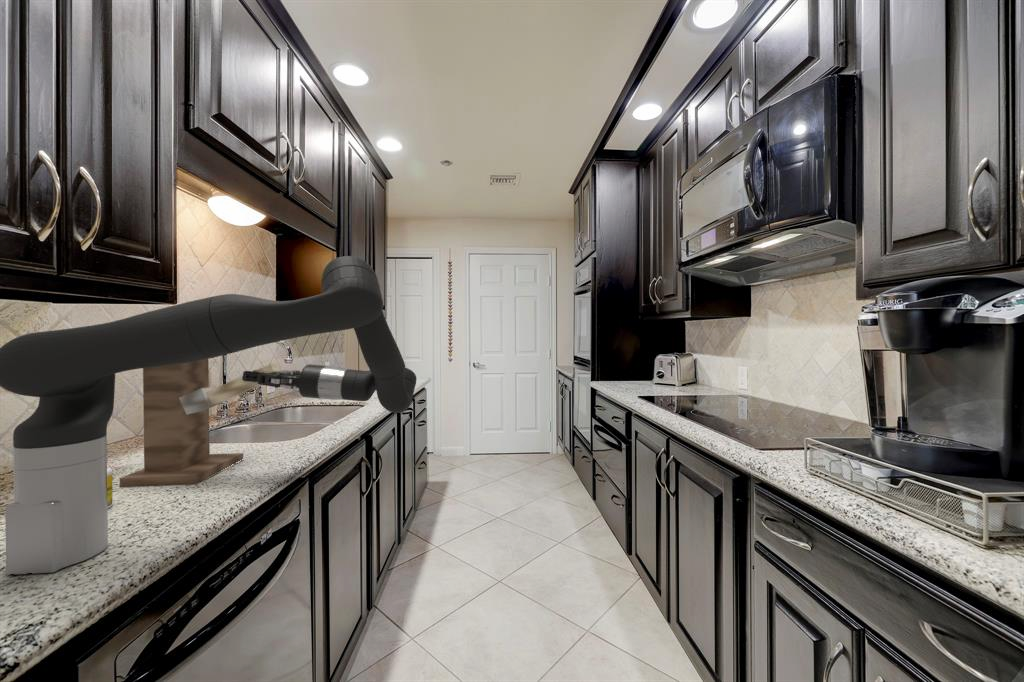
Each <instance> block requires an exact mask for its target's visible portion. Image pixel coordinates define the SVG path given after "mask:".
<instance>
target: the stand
mask: <svg viewBox="0 0 1024 682" xmlns="http://www.w3.org/2000/svg"><path fill="white" fill-rule="evenodd" d="M209 373H210V372H209V359H205V360H200V361H194V362H188V363H181V364H174V365H167V366H158V367H149V368H142V384H143V385H142V390H143V392H142V397H143V398H142V399H143V400H142V401H143V403H142V404H143V405H142V406H143V463H144V465H143V466H144V467H143V468H142V469H140V470H137V471H135V472H132V473H130V474H127V475H124V476H121V477H119V488H129V487H130V488H132V487H133V488H134V487H157V486H182V485H187V486H188V485H198V484H200V483H202V482H204V481H205V479H206V478H208V477H210V476H212V475H213V474H215V473H217V472H219V471H221V470H223V469H225V468H227V467H229V466H231V465H232V464H235V463H236V462H238V461H240V460H242V459H243V460H244V453H243V452H241V453H240V452H237V453H233V452H232V453H212V454H211V453H210V408H209V409H206V410H204V411H201V412H197V413H192V414H188V415H186V412H185V410H184V408H183V406H182V404H181V401H180V399H179V398H180V397H182V396H185V395H187V394H189V393H192V392H194V391H196V390H199V389H201V388H208V387H210V385H209V383H210V382H209V381H210V377H209V376H210V374H209ZM235 465H236V464H235ZM212 477H213V476H212ZM210 478H211V477H210ZM208 479H209V478H208ZM203 480H204V481H203ZM206 480H207V479H206ZM201 481H202V482H201ZM199 482H200V483H199ZM197 483H198V484H197Z"/></svg>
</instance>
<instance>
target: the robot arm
mask: <svg viewBox="0 0 1024 682" xmlns="http://www.w3.org/2000/svg"><path fill="white" fill-rule="evenodd" d="M383 309H384V301H383V296H382V292H381V287H380V283H379V279H378V276H377V274H376V272H375V270H374V269H373V267H372V266H371V265H370V264H369V263H368V262H366V260H365V259H364V260H363V258H360V257H358V256H352V255H344V256H338V257H336V258H334V259H332V260H331V261H329V262H328V263H327V264H326V265H325V267H324V269H323V272H322V275H321V293H320V294H319V293H318V294H316V295H313V296H307V297H303V298H299V299H293V300H282V301H281V300H271V299H268V298H267V299H266V298H261V297H256V296H251V295H246V294H245V295H244V294H237V293H236V294H235V293H234V294H233V293H227V294H219V295H218V294H217V295H215V296H213V295H212V296H210V297H209V296H208V297H204V298H199V299H195V300H191V301H186V302H182V303H178V304H175V305H170V306H166V307H161V308H158V309H155V310H150V311H147V312H143V313H138V314H136V315H132V316H129V317H125V318H122V319H117V320H115V321H109V322H105V323H104V322H103V323H99V324H93V325H92V324H91V325H84V326H78V327H72V328H71V327H70V328H64V329H56V330H55V329H54V330H47V331H38V332H29V333H26V334H23V335H20V336H17V337H15V338H13V339H11V340H9V341H8V342H6V343H4V344H3V345H1V347H0V387H1V388H2V389H4V390H5V391H7V392H10V393H12V394H15V395H19V396H23V397H25V396H26V397H33V398H39V401H38V406H37V407H36V409H35V410H34V412H33V413H32V414H31V415H30V416H29V417H28V418H26V419H25V420H23V421H22V422H21V423H19V424H18V425H17V426H16V427H15V428H14V430H13V435H12V436H13V437H12V438H13V439H12V442H13V443H12V446H13V447H12V448H13V454H12V455H13V456H12V457H13V502H12V503H9V504H7V505H6V506H5V508H4V509H5V512H4V513H5V517H4V518H5V573H6V574H14V575H28V574H27V573H32V574H46V573H49V574H50V573H56V572H57V571H59V570H61V569H63V568H66V567H69V566H70V567H71V566H72V565H75V564H78V563H81V562H83V561H86V560H88V559H90V558H93V557H94V556H96V555H99V554H100V553H102V552H103V551H104V550H106V549H107V547H108V545H109V518H108V517H109V516H108V510H109V509H107V467H108V463H107V457H108V456H107V455H108V454H107V453H108V449H107V448H108V445H107V441H108V439H107V434H108V433H107V429H108V424H109V422H110V420H111V417H112V416H113V413H114V407H115V405H114V404H115V392H116V391H115V389H116V388H115V387H116V386H115V385H116V374H118V373H122V372H123V373H124V372H127V371H131V370H139V369H143V368H149V367H158V366H167V365H174V364H181V363H188V362H194V361H200V360H205V359H208V360H209V359H214V358H217V357H222V356H225V355H230V354H233V353H238V352H242V351H245V350H248V349H252V348H255V347H259V346H264V345H268V344H273V343H277V342H282V341H286V340H287V341H288V340H292V339H297V338H301V337H302V338H303V337H308V336H312V335H314V336H315V335H320V334H326V333H334V332H340V331H346V330H351V329H353V331H354V332H355V336H356V338H357V342H358V345H359V347H360V350H361V353H362V356H363V359H364V361H365V363H366V365H367V367H368V368H369V370H360V369H349V368H344V367H339V366H330V365H329V366H328V365H320V364H312V363H311V364H310V363H309V364H306V365H305V366H304V367H303V368H302V369H301V370H299V369H297V370H296V369H295V370H293V369H292V370H289V369H288V370H287V369H282V370H281V369H280V371H273V372H272V373H269V372H254V371H256V370H257V369H254V370H253V371H252V370H244V371H243V372H242V376H243V381H250V382H258V384H260V386H267V387H273V388H276V389H277V388H283V389H285V390H286V389H287V390H294V388H296V389H298V393H299V394H300V396H301V397H303V398H311V399H318V400H319V399H320V400H321V399H322V400H331V401H338V400H342V401H352V402H353V401H354V402H368V401H369V400H370V399H371V398H372V396H373V395H374V393H376V396H377V399H378V401H379V404H380V405H381V406H382V407H383V408H384V409H385V410H386V411H389V412H390V413H392V414H394V413H395V414H398V413H399V414H400V413H403V412H405V411H407V410H408V409H409V408H410V406H411V405H412V401H413V396H414V392H415V389H416V385H417V375H416V373H415V372H414V371H413V370H412V369H410V368H408V367H406V364H405V361H404V358H403V355H402V353H401V351H400V348H399V346H398V344H397V342H396V340H395V338H394V335H393V334H392V331H391V329H390V327H389V325H388V321H387V320H386V317H385V315H384V312H383ZM277 374H278V375H277ZM6 574H5V575H6Z"/></svg>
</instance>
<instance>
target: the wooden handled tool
mask: <svg viewBox="0 0 1024 682" xmlns="http://www.w3.org/2000/svg"><path fill="white" fill-rule="evenodd" d="M255 370H256V371H254V370H253V371H254V372H269V373H272V372H273V371H280V370H281V369H280V367H279V364H278V363H270V364H268V365H265V366H262V367H260V368H258V369H255ZM277 375H278V374H277ZM260 386H261V385H260V384H258V382H250V381H243V375H242V376H240V377H237V378H236V379H233V380H230V381H228V382H226V383H224V384H222V385H220V386H209V387H208V388H201V389H199V390H196V391H194V392H192V393H189V394H187V395H185V396H182V397H180V398H179V399H180V401H181V404H182V406H183V408H184V410H185V412H186V415H188V414H192V413H197V412H201V411H204V410H206V409H209V410H210V409H211V408H213V407H216V406H217V405H221V404H222V403H224V402H226V401H228V400H230V399H232V398H235V397H236V396H240V395H241V394H244V393H246V392H248V391H250V390H252V389H255V388H257V387H260Z"/></svg>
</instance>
